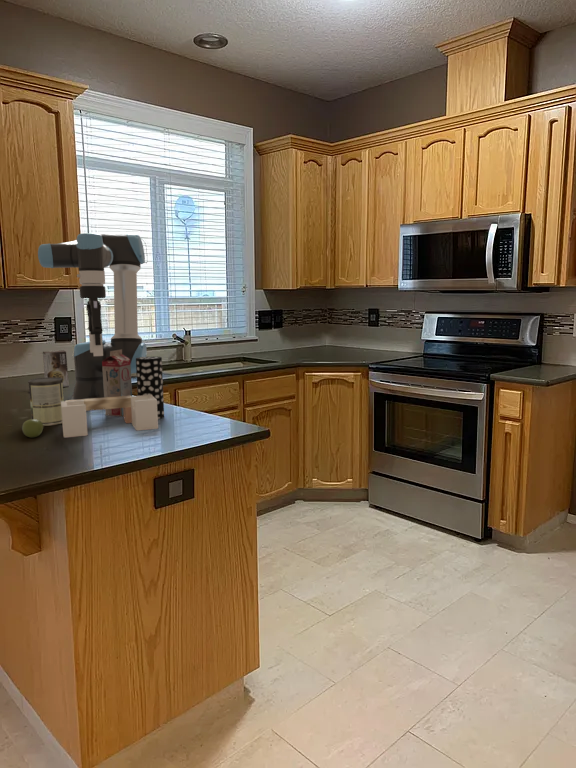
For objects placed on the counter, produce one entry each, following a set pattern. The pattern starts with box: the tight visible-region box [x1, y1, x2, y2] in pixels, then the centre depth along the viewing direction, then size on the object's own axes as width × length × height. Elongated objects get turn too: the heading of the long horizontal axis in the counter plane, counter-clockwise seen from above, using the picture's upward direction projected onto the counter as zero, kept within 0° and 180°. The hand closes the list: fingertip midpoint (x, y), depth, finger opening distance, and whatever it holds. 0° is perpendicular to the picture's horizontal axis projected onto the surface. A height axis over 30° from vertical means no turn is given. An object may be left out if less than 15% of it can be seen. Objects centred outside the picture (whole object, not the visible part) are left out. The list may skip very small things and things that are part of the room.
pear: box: [21, 418, 44, 438], centre depth 172 cm, size 6×5×10 cm
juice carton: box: [102, 349, 133, 417], centre depth 200 cm, size 7×7×22 cm
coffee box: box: [42, 349, 70, 388], centre depth 263 cm, size 9×6×16 cm
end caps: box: [61, 395, 159, 438], centre depth 177 cm, size 27×10×9 cm, turn 113°
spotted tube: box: [136, 356, 165, 420], centre depth 194 cm, size 8×8×20 cm
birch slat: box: [65, 396, 131, 412], centre depth 186 cm, size 20×4×3 cm, turn 113°
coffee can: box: [27, 377, 65, 427], centre depth 188 cm, size 10×10×14 cm
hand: (96, 354), depth 183 cm, fingers open, 13 cm apart
